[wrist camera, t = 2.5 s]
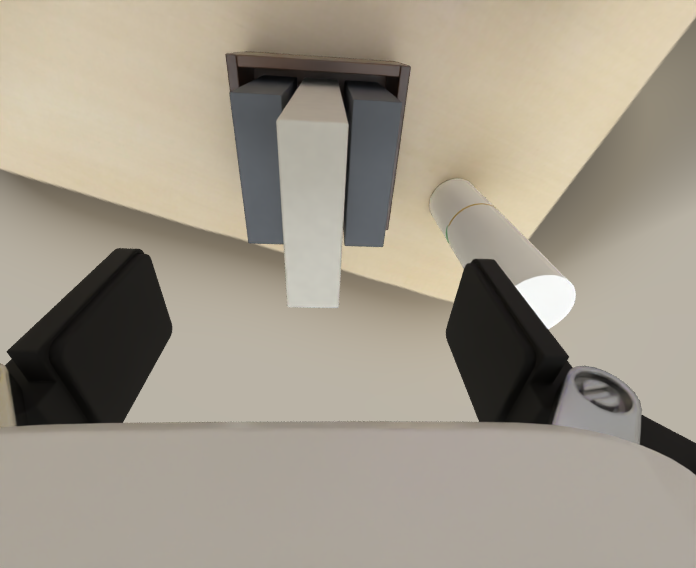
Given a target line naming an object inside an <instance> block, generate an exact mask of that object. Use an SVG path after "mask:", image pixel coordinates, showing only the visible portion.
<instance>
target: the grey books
mask: <svg viewBox="0 0 696 568" xmlns="http://www.w3.org/2000/svg"><path fill="white" fill-rule="evenodd" d="M296 90H297V77H286V76H270V75H263V76H261V77H259V78H257V79H255V80H253V81H251V82H249V83H247V84H245V85H243V86H241V87H239V88H237V89H235V90H233V91H231V92H230V93H229V94H230V101H231V109H232V117H233V125H234V133H235V141H236V149H237V156H238V164H239V172H240V180H241V188H242V196H243V204H244V211H245V219H246V227H247V235H248V243H254V244H284V242H283V226H282V209H281V192H280V175H279V158H278V142H277V125H276V121H277V119H278V117H279V116H280V114H281V113H282V111H283V110H284V108H285V107H286V105H287V104H288V102H289V101H290V99H291V98H292V96H293V95H294V93H295V92H296ZM344 108H345V113H346V117H347V121H348V125H349V127H348V146H347V164H346V183H345V202H344V220H343V231H344V244H345V246H366V247H383V244H384V236H385V229H386V222H387V214H388V207H389V199H390V192H391V184H392V177H393V169H394V162H395V154H396V147H397V139H398V132H399V124H400V117H401V109H402V102H401V101H400V100H399V99H397V98H396V97H395V96H394V95H393V94H391V93H390V92H389V91H388V90H386V89H385V88H384V87H383V86H382V85H380V84H379V83H378V82H366V81H350V80H345V91H344Z"/></svg>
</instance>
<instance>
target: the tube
mask: <svg viewBox="0 0 696 568" xmlns="http://www.w3.org/2000/svg"><path fill="white" fill-rule="evenodd" d="M429 208H430V212H431V215H432V216H433V218H434V220H435V221H436V223H437V225H438V226H439V228H440V230H441V231H442V233H443V235H444V236H445V238H446V240H447V241H448V243H449V244H450V246H451V248H452V250H453V251H454V253H455V255H456V256H457V258H458V260H459V261H460V263H461V265H462V266H463V268H465V265H466V264H467V263H471V262H472V260H473V259H494V260H495V261H496V262H497V264H498V265H499V266H500V267H501V269H502V270H503V271H504V273H505V274H506V275H507V277H508V278H509V279H510V280H511V282H512V283H513V284H514V286H515V287H516V288H517V290H518V291H519V292H520V293H521V295H522V296H523V297H524V299H525V300H526V301H527V303H528V304H529V305H530V306H531V308H532V309H533V310H534V312H535V313H536V314H537V316H538V317H539V318H540V319H541V321H542V322H543V323H544V325H545V326H546V327H547V329H549V328H551V327H553V326H554V325H556V324H557V323H559V322H560V321H561V320H562V319H563V318H564V317H565V316H566V315H567V314H568V313H569V311H570V310H571V308H572V307H573V304H574V302H575V297H576V293H575V288H574V286H573V284H572V283H571V282H570V281H569V280H568V279H567V278H566V277H565V276H564V275H563V274H562V273H561V272H560V271H559V270H558V269H557V268H556V267H555V266H554V265H553V264H552V263H551V262H550V261H549V260H548V259H547V258H546V257H545V256H544V255H543V254H542V253H541V252H540V251H539V250H538V249H537V248H536V247H535V246H534V245H533V244H532V243H531V242H530V241H529V240H528V239H527V238H526V237H525V236H524V235H523V234H522V233H521V232H520V231H519V230H518V229H517V228H516V227H515V226H514V225H513V224H512V223H511V222H510V221H509V220H508V219H507V218H506V217H504V216H503V215H502V214H501V213H500V212H499V211H498V210H497V209H496V208H495V207H494V206H493V205H492V204H491V203H490V202H489V201H488V200H487V199H486V198H485V197H484V196H483V195H482V194H481V193H480V192H479V191H478V190H477V189H476V188H475V187H474V186H473V185H472V184H471V183H470V182H468V181H467V180H464V179H459V178H457V179H451V180H448V181H446V182H443V183H442V184H441V185H439V186H438V187H437V188H436V189H435V191H434V192H433V194H432V196H431V198H430V202H429Z"/></svg>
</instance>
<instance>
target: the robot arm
mask: <svg viewBox="0 0 696 568" xmlns="http://www.w3.org/2000/svg"><path fill="white" fill-rule="evenodd" d="M171 333H172V323H171V320H170V317H169V314H168V311H167V307H166V304H165V301H164V298H163V295H162V292H161V289H160V286H159V282H158V279H157V276H156V273H155V270H154V267H153V264H152V260H151V258H150V256H149V255H147V254H144V252H143V251H142V250H140V249H124V248H122V249H121V248H119V249H116V250H114V251H113V252H112V253H111V254H110V255H109V256H108V257H107V258H106V259H105V260H103V261H102V262H101V263H100V264H99V265H98V266H97V267H96V268H95V269H94V270H93V271H92V272H91V273H90V274H89V275H88V276H87V277H85V278H84V279H83V280H82V281H81V282H80V283H79V284H78V285H77V286H76V287H75V288H74V289H73V290H72V291H70V292H69V293H68V294H67V295H66V296H65V297H64V298H63V299H62V300H61V301H60V302H59V303H58V304H57V305H56V306H54V308H52V309H51V310H50V311H49V312H48V313H47V314H46V315H45V316H44V317H43V318H42V319H41V320H40V321H39V322H37V323H36V324H35V325H34V326H33V327H32V328H31V329H30V330H29V331H28V332H27V333H26V334H25V335H24V336H23V337H22V338H20V339H19V340H18V341H17V342H16V343H15V344H14V345H13V346H12V347H11V348H10V349H9V350H8V351H7V353H8V354H9V356H10V357H11V358H12V359H11V360H10V361H9V362H8V363H7V364H6V365H3V364H0V568H696V443H694V442H692V441H691V440H688V439H687V438H685V437H683V436H681V435H679V434H677V433H675V432H673V431H671V430H670V429H668V428H666V427H664V426H662V425H660V424H658V423H656V422H654V421H652V420H651V419H649V418H647V417H645V416H643V415H641V412H642V408H641V404H640V400H639V399H638V397H637V396H636V394H635V392H634V391H633V390H632V389H631V388H630V387H629V386H628V385H627V384H625V383H624V382H623V381H621V380H620V379H619V378H617V377H616V376H614V375H612V374H610V373H608V372H606V371H603V370H601V369H597V368H595V367H589V366H577V367H574V368H572V366H571V365H570V364H569V362H568V361H567V360H568V358H569V356H568V355H567V353H566V352H565V351H564V349H563V348H562V347H561V346H560V344H559V343H558V342H557V340H556V339H555V338H554V336H553V335H552V334H551V333H550V332H549V330H548V329H547V327H546V326H545V325H544V323H543V322H542V321H541V319H540V318H539V317H538V316H537V314H536V313H535V312H534V310H533V309H532V308H531V306H530V305H529V304H528V303H527V301H526V300H525V299H524V297H523V296H522V295H521V293H520V292H519V291H518V290H517V288H516V287H515V286H514V284H513V283H512V282H511V280H510V279H509V278H508V277H507V275H506V274H505V273H504V271H503V270H502V269H501V267H500V266H499V265H498V264H497V262H496V261H495V260H494V259H473V260H472V262H471V263H467V264H466V265H465V268H464V271H463V274H462V278H461V281H460V284H459V288H458V291H457V294H456V298H455V301H454V304H453V308H452V311H451V314H450V318H449V321H448V325H447V329H446V338H447V341H448V344H449V346H450V349H451V352H452V354H453V357H454V359H455V362H456V364H457V367H458V369H459V372H460V374H461V377H462V379H463V382H464V384H465V387H466V389H467V392H468V395H469V397H470V400H471V402H472V405H473V407H474V410H475V412H476V415H477V417H478V420H479V422H391V421H390V422H389V421H385V422H384V421H380V422H377V421H376V422H375V421H374V422H373V421H369V422H368V421H367V422H365V421H363V422H361V421H358V422H356V421H350V422H349V421H347V422H346V421H343V422H342V421H341V422H340V421H338V422H171V423H170V422H166V423H123V421H124V420H125V418H126V416H127V414H128V412H129V411H130V409H131V407H132V405H133V403H134V402H135V400H136V398H137V396H138V394H139V392H140V390H141V389H142V387H143V385H144V383H145V382H146V380H147V378H148V376H149V374H150V373H151V371H152V369H153V367H154V365H155V363H156V362H157V360H158V358H159V356H160V355H161V353H162V351H163V349H164V347H165V345H166V343H167V342H168V340H169V338H170V336H171Z"/></svg>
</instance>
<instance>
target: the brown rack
mask: <svg viewBox="0 0 696 568" xmlns="http://www.w3.org/2000/svg"><path fill="white" fill-rule="evenodd" d="M226 63H227V71H228V79H229V86H230V92H231V91H233V90H235V89H237V88H239V87H241V86H243V85H245V84H247V83H249V82H251V81H253V80H255V79H257V78H259V77H261V76H263V75H270V76H286V77H297V89H298V87H299V86H300V84H301V83H302V81H303V80H304V78H318V79H334V80H338V83H339V88H340V92H341V96H342V100H343V104H344V91H345V80H350V81H366V82H378V83H379V84H380V85H382V86H383V87H384V88H385V89H386V90H388V91H389V92H390V93H391V94H393V95H394V96H395V97H396V98H397V99H399V100H400V101H401V102H402V109H401V117H400V124H399V132H398V139H397V147H396V154H395V162H394V169H393V177H392V184H391V192H390V199H389V207H388V214H387V222H386V229H385V230H388V227H389V220H390V212H391V205H392V198H393V191H394V184H395V176H396V169H397V162H398V155H399V148H400V140H401V133H402V126H403V119H404V112H405V104H406V97H407V90H408V83H409V76H410V68H411V67H410V66H409V65H405V64H402V63H399V62H395V61H381V60H366V59H352V58H337V57H322V56H307V55H292V54H277V53H263V52H248V51H245V52H236V53H227V54H226Z"/></svg>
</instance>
